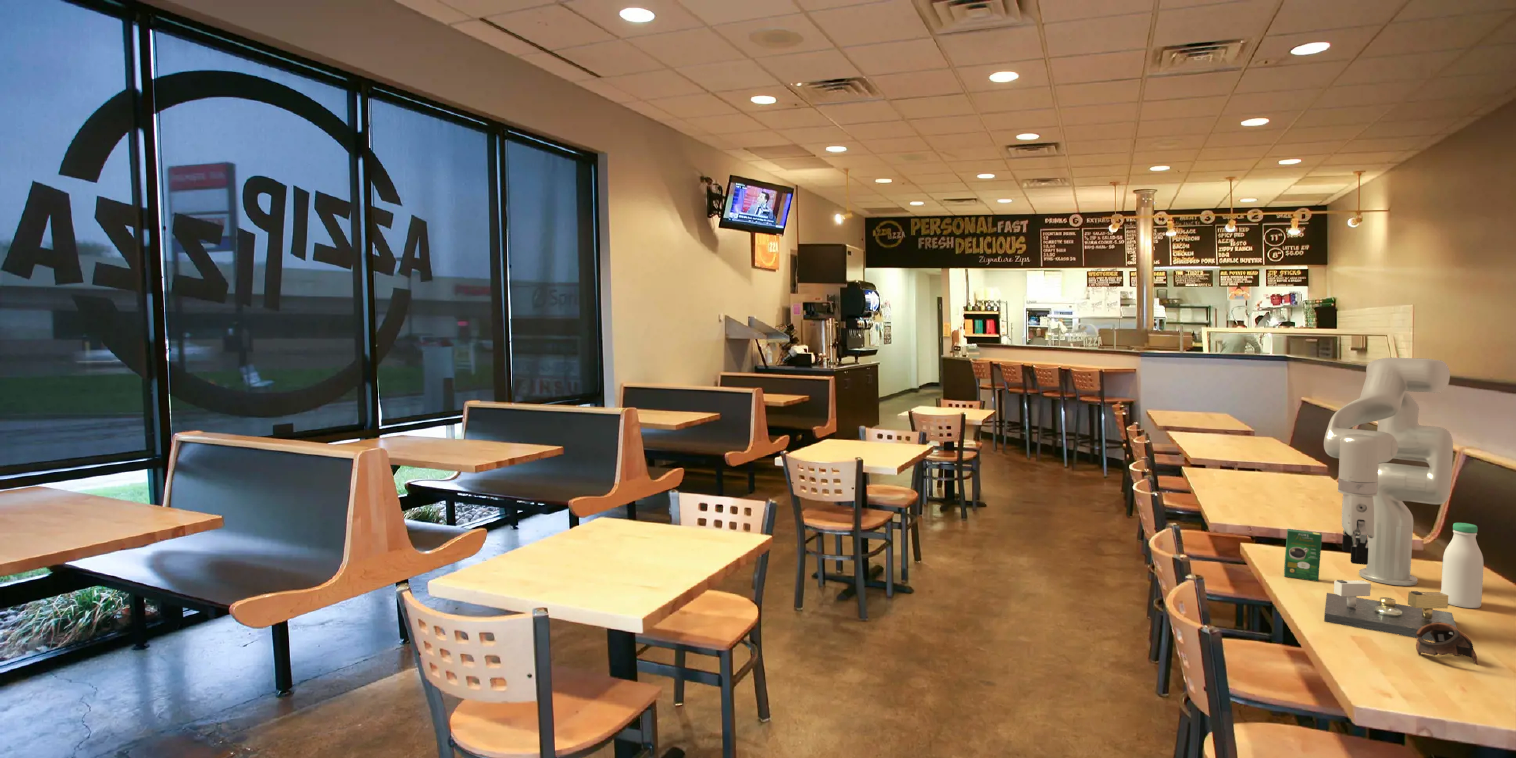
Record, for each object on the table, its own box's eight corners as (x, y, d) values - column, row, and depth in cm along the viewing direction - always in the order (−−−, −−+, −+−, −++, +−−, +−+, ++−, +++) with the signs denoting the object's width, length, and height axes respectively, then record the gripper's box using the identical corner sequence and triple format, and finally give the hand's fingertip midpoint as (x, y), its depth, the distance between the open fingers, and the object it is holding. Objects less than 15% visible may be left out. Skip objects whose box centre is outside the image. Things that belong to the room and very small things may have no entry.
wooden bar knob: (1438, 616, 188) (1440, 590, 187) (1446, 620, 185) (1448, 594, 185) (1407, 615, 188) (1408, 590, 188) (1415, 619, 186) (1416, 593, 185)
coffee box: (1319, 579, 223) (1321, 531, 222) (1319, 582, 220) (1322, 534, 219) (1283, 574, 227) (1286, 527, 226) (1284, 577, 224) (1286, 530, 223)
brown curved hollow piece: (1489, 673, 164) (1472, 639, 163) (1434, 684, 168) (1417, 651, 168) (1466, 638, 174) (1449, 605, 174) (1414, 649, 179) (1398, 618, 178)
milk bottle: (1488, 610, 199) (1494, 529, 197) (1452, 607, 200) (1457, 527, 199) (1468, 599, 206) (1473, 521, 205) (1433, 597, 208) (1437, 519, 206)
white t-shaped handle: (1361, 603, 196) (1363, 579, 196) (1369, 607, 194) (1370, 582, 194) (1333, 603, 196) (1334, 579, 196) (1340, 607, 194) (1341, 582, 193)
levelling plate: (1326, 600, 205) (1327, 586, 205) (1451, 621, 191) (1452, 605, 191) (1324, 621, 191) (1325, 606, 191) (1459, 645, 177) (1460, 629, 177)
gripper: (1386, 496, 184) (1382, 570, 185) (1368, 480, 199) (1365, 549, 201) (1345, 493, 187) (1342, 566, 189) (1331, 478, 203) (1328, 545, 204)
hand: (1354, 557), depth 195 cm, fingers open, 9 cm apart
